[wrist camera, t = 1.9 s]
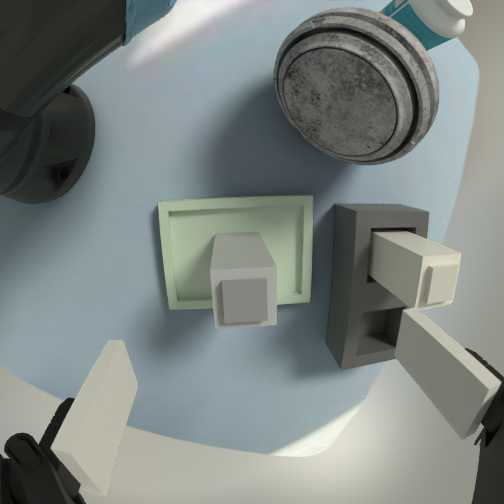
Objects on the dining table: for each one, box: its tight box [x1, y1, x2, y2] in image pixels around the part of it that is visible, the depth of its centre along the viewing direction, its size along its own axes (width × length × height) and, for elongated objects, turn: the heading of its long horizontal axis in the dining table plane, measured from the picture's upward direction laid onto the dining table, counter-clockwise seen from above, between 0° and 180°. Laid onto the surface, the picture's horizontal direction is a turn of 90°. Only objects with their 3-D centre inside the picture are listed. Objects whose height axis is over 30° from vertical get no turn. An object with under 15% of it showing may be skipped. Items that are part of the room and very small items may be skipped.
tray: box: [158, 195, 313, 310], centre depth 32 cm, size 16×12×2 cm
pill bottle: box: [379, 0, 473, 51], centre depth 20 cm, size 8×7×14 cm
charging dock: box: [326, 204, 461, 370], centre depth 28 cm, size 9×18×15 cm, turn 2°
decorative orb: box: [274, 8, 439, 165], centre depth 22 cm, size 15×14×15 cm
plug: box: [210, 232, 277, 329], centre depth 26 cm, size 4×4×13 cm
